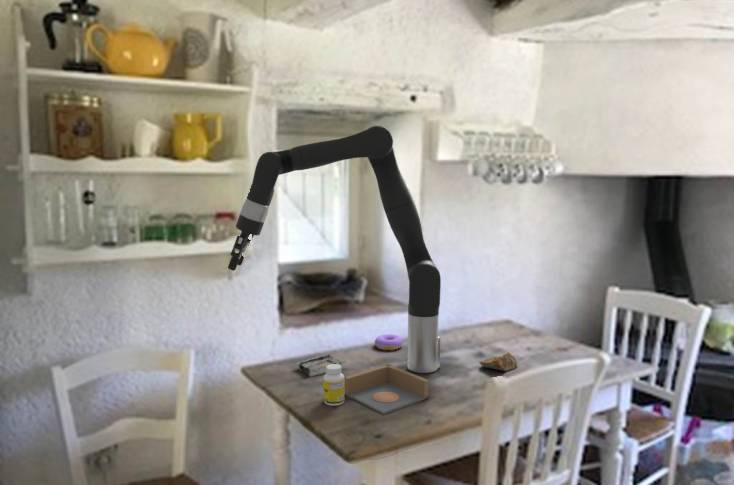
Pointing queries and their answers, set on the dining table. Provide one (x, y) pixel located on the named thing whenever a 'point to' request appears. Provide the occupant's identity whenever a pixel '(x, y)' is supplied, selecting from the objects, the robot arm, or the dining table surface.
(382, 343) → the donut
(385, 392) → the corner arena
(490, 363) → the decorative stone
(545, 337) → the dining table surface
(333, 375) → the supplement bottle
